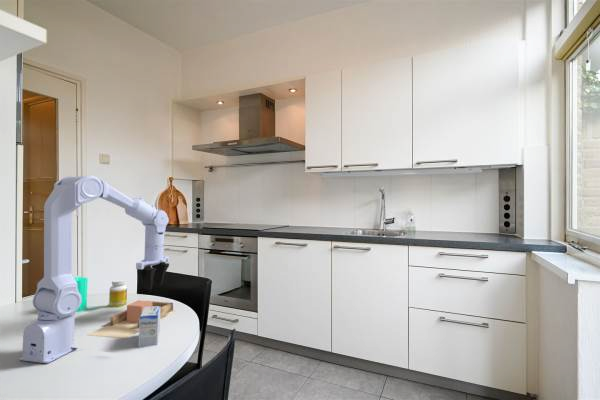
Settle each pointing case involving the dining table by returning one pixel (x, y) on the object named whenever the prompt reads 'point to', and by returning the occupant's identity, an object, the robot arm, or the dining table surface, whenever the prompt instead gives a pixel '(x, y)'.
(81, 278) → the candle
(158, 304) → the tray
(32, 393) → the dining table surface
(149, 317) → the medicine box
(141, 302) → the block
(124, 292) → the supplement bottle
